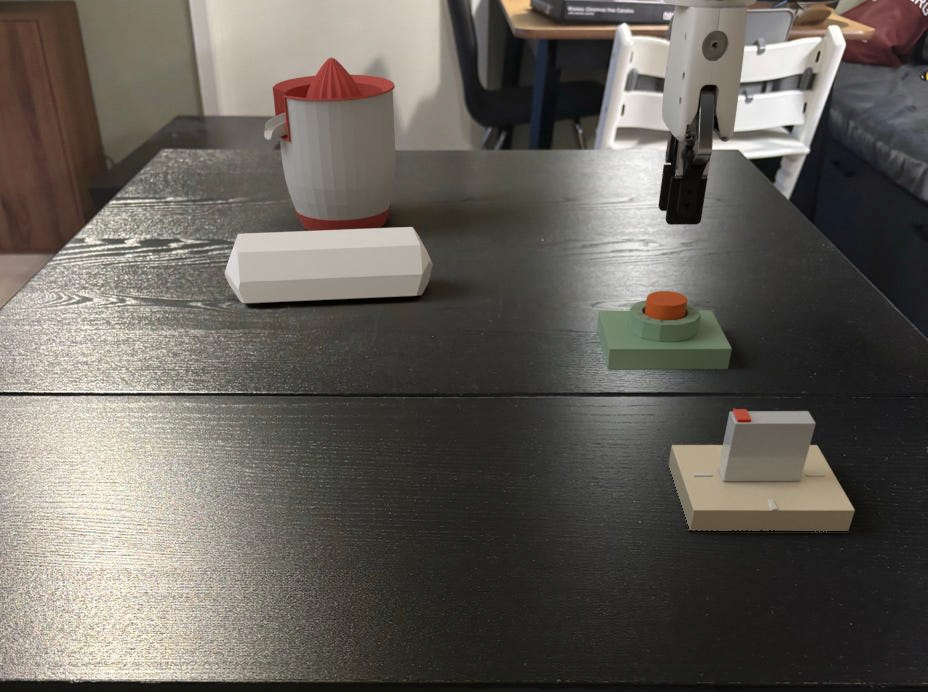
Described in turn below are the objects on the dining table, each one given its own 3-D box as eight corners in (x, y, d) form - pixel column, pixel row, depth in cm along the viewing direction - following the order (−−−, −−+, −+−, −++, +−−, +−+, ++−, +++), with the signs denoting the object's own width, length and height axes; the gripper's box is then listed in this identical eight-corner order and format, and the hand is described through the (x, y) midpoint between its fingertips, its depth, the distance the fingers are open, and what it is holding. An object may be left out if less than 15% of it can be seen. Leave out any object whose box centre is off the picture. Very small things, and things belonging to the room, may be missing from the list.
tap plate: (811, 465, 79) (817, 442, 77) (848, 533, 71) (856, 509, 70) (668, 465, 79) (671, 442, 78) (689, 533, 71) (694, 508, 70)
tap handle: (793, 468, 74) (809, 407, 71) (800, 481, 73) (816, 420, 69) (717, 468, 74) (730, 408, 71) (723, 481, 73) (735, 420, 70)
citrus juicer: (263, 217, 133) (242, 53, 120) (379, 203, 138) (371, 43, 125) (291, 251, 122) (271, 74, 109) (416, 234, 127) (411, 62, 114)
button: (681, 307, 96) (683, 290, 95) (688, 322, 93) (690, 305, 92) (642, 307, 96) (644, 290, 95) (647, 322, 93) (649, 305, 92)
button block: (708, 330, 101) (715, 293, 98) (728, 369, 93) (735, 330, 91) (596, 330, 101) (600, 293, 98) (607, 369, 93) (611, 330, 91)
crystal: (218, 281, 102) (436, 271, 104) (218, 229, 105) (431, 221, 106) (230, 325, 109) (434, 316, 111) (230, 275, 112) (430, 267, 113)
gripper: (784, -8, 70) (737, 245, 82) (736, -30, 83) (701, 192, 95) (683, -7, 71) (651, 245, 82) (651, -29, 83) (627, 192, 95)
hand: (679, 214), depth 89 cm, fingers open, 3 cm apart
